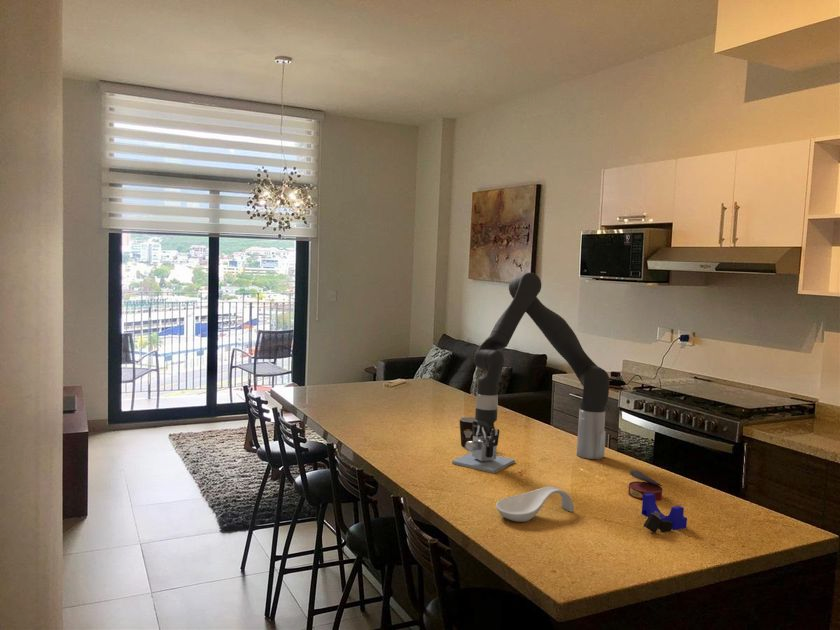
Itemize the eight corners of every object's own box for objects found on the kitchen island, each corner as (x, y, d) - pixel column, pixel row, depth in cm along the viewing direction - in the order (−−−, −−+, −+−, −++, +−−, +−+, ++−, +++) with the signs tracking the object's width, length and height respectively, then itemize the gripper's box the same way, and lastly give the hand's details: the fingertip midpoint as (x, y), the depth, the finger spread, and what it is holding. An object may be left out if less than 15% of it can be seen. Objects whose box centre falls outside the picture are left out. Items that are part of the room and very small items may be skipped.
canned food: (627, 506, 208) (621, 474, 212) (659, 505, 207) (654, 472, 211) (635, 501, 197) (629, 467, 201) (669, 499, 197) (663, 465, 201)
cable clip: (686, 528, 180) (688, 507, 179) (673, 530, 178) (675, 509, 177) (653, 512, 191) (655, 492, 190) (641, 514, 189) (642, 494, 188)
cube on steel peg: (486, 454, 235) (487, 434, 234) (496, 459, 230) (497, 438, 229) (462, 457, 231) (463, 436, 230) (471, 462, 225) (472, 441, 225)
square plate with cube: (514, 462, 234) (515, 446, 233) (493, 473, 220) (494, 456, 220) (474, 453, 242) (475, 438, 242) (452, 463, 229) (452, 447, 228)
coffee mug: (453, 445, 252) (454, 419, 252) (467, 441, 259) (469, 415, 258) (477, 451, 244) (479, 425, 244) (491, 447, 251) (493, 421, 250)
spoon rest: (512, 529, 174) (513, 502, 174) (487, 513, 184) (488, 488, 184) (581, 517, 185) (583, 491, 185) (554, 502, 196) (556, 479, 195)
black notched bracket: (660, 537, 178) (669, 520, 179) (665, 540, 177) (675, 523, 177) (641, 524, 176) (650, 507, 176) (646, 527, 174) (656, 510, 174)
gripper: (507, 410, 225) (505, 459, 226) (484, 401, 238) (482, 448, 239) (488, 411, 222) (486, 461, 223) (466, 403, 234) (464, 450, 236)
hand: (484, 454), depth 231 cm, fingers closed on cube on steel peg, 6 cm apart
